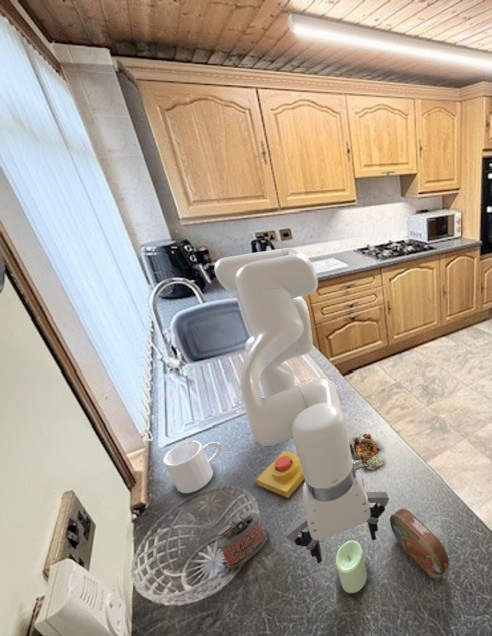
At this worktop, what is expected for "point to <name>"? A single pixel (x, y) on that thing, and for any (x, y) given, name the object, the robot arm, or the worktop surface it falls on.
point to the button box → (282, 477)
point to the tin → (420, 543)
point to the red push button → (283, 463)
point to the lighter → (241, 539)
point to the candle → (351, 566)
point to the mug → (190, 465)
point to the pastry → (366, 451)
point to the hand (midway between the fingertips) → (346, 543)
